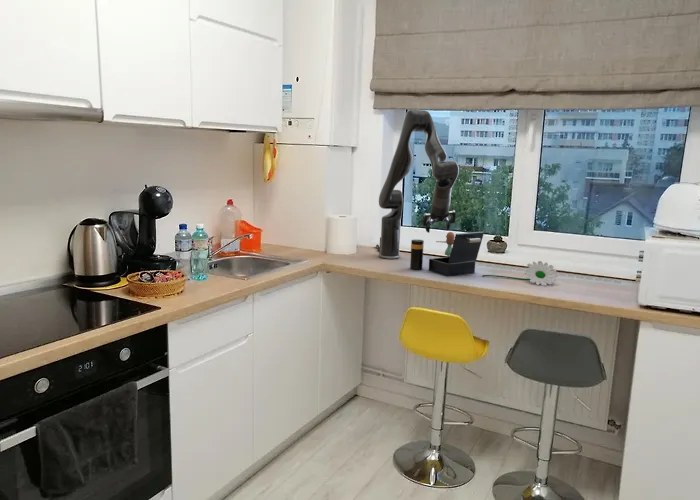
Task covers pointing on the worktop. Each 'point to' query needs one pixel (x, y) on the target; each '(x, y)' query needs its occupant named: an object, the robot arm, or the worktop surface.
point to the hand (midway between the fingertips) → (437, 230)
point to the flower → (537, 273)
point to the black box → (451, 267)
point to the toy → (448, 243)
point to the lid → (466, 247)
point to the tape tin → (416, 254)
